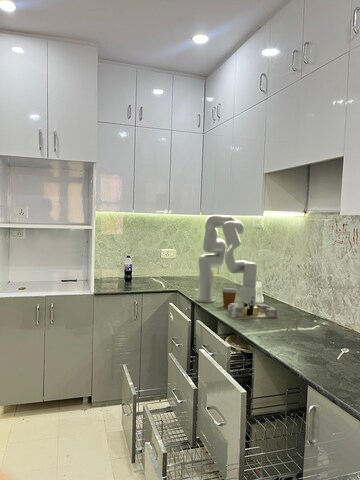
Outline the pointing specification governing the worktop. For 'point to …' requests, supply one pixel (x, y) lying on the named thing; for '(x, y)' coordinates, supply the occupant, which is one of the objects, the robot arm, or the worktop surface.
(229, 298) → the disposable coffee cup
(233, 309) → the tray with grey blocks
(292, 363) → the worktop surface
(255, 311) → the brass tube
